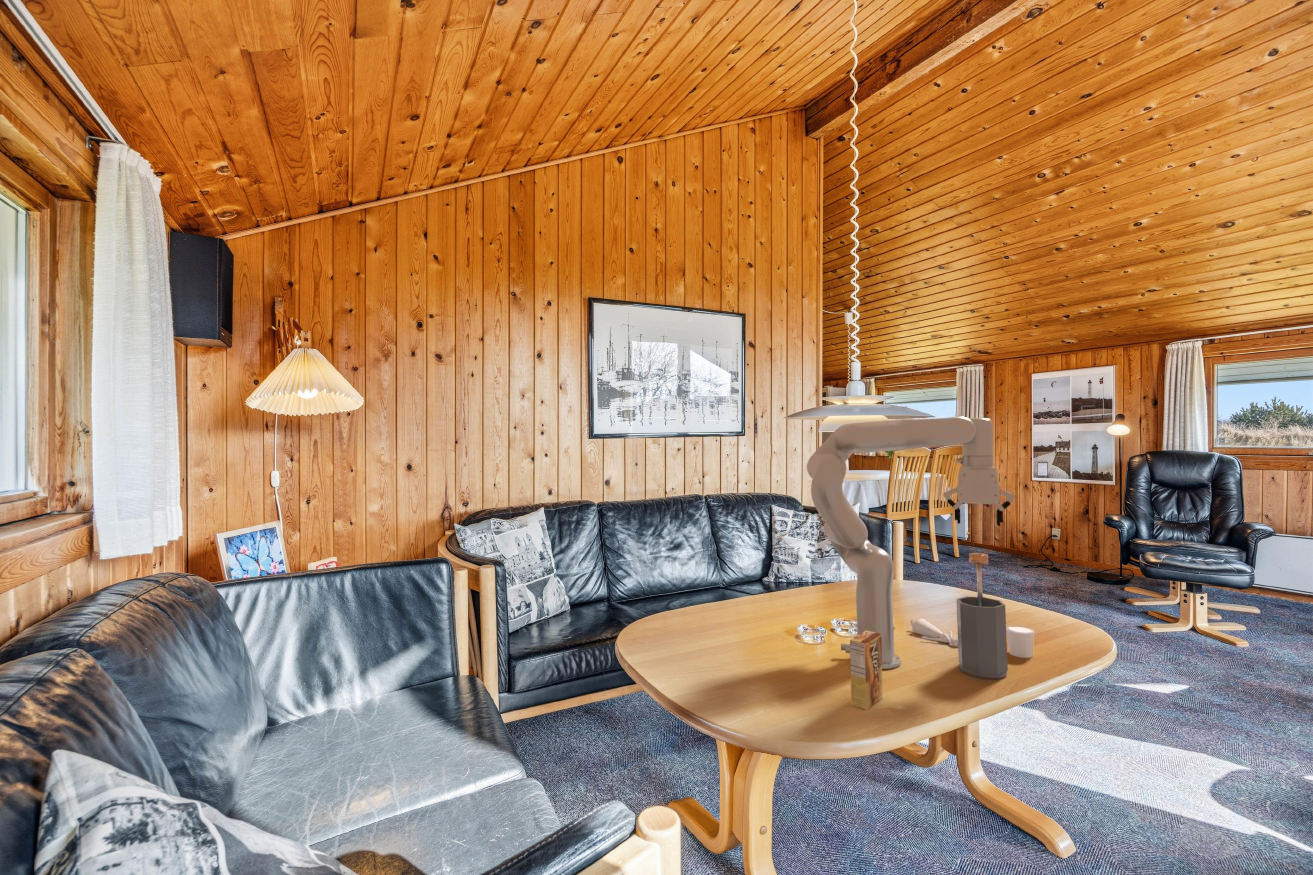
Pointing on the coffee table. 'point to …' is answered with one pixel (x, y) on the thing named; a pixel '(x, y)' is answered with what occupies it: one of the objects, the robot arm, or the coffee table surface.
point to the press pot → (982, 638)
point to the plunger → (979, 572)
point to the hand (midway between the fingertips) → (978, 524)
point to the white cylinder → (1020, 641)
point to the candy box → (866, 669)
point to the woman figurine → (932, 632)
